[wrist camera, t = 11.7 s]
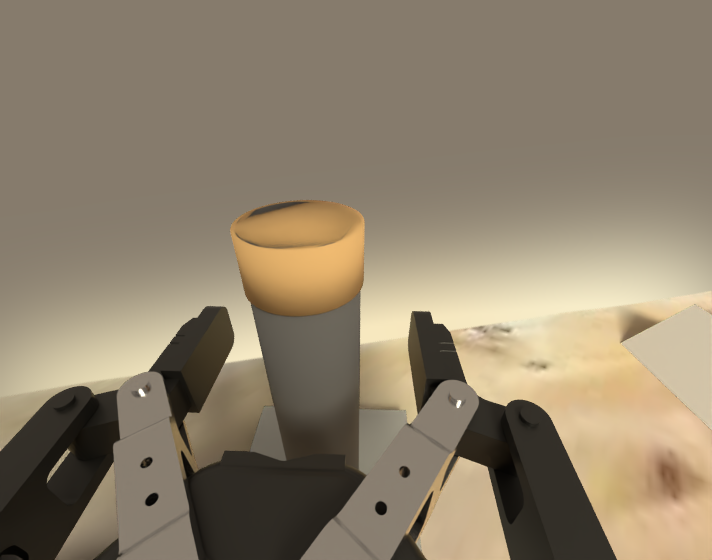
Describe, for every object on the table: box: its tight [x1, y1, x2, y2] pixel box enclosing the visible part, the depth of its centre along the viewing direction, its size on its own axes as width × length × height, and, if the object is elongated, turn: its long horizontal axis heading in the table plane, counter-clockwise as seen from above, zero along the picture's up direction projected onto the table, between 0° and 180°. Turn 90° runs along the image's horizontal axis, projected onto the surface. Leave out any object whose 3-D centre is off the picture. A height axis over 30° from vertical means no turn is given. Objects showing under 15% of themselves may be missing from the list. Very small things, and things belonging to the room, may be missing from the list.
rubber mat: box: [250, 406, 422, 552], centre depth 18 cm, size 10×10×1 cm
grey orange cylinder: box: [230, 200, 364, 470], centre depth 13 cm, size 4×4×16 cm
